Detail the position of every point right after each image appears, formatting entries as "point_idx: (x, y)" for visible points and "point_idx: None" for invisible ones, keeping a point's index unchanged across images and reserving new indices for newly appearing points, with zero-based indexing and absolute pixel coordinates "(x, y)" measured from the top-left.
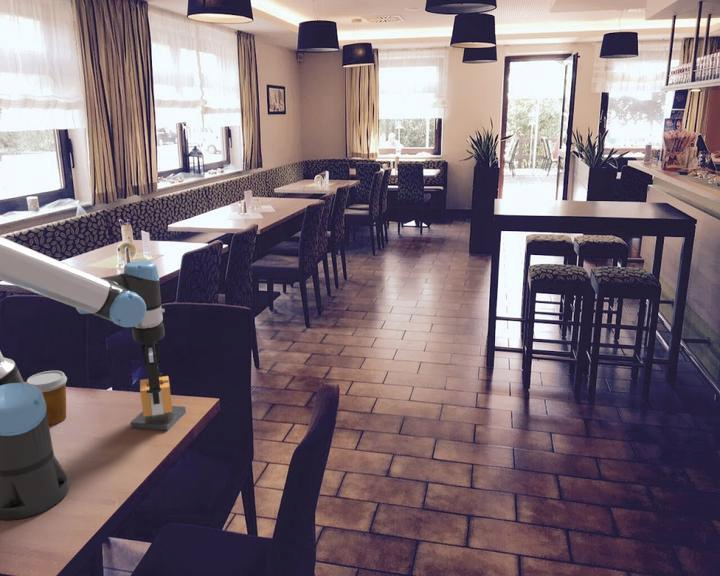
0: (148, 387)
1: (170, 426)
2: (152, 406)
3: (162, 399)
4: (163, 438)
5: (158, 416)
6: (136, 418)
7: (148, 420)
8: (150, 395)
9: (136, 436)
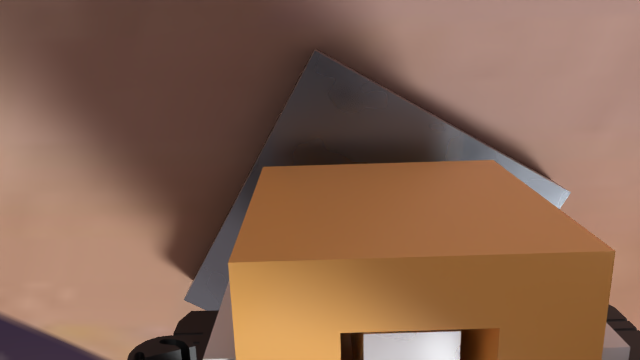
0: (312, 356)
1: None
2: None
3: None
4: (99, 256)
5: None
6: (363, 94)
7: None
8: (212, 336)
9: (172, 90)
